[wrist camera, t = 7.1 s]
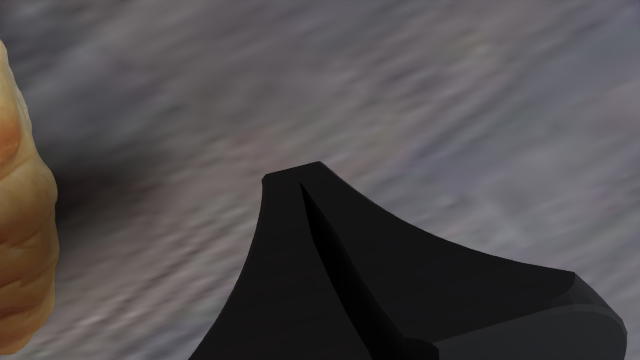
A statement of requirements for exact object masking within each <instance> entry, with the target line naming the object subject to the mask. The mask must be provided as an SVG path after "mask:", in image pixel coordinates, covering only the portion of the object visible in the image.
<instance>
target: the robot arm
mask: <svg viewBox="0 0 640 360" xmlns="http://www.w3.org/2000/svg"><path fill="white" fill-rule="evenodd" d="M626 348H627V331H626V328H625V326H624V323H623V321H622V319H621V318H620V317H619V316H618V315H617V314H616V313H615V312H614V311H613V310H612V308H611V307H610V306H609V305H608V304H607V303H606V302H605V301H604V300H603V299H602V298H601V297H600V296H599V295H598V294H597V293H596V292H595V291H594V290H593V289H592V288H591V287H590V286H589V285H588V284H587V283H585V282H584V281H583V280H582V279H581V278H580V277H579V276H578V275H577V274H575V273H574V272H571V271H565V270H560V269H554V268H548V267H543V266H537V265H532V264H526V263H521V262H517V261H513V260H509V259H505V258H501V257H497V256H493V255H489V254H486V253H483V252H480V251H476V250H473V249H470V248H467V247H464V246H461V245H459V244H456V243H453V242H450V241H447V240H445V239H442V238H440V237H437V236H435V235H433V234H430V233H428V232H426V231H424V230H422V229H420V228H418V227H415V226H413V225H411V224H409V223H407V222H405V221H403V220H401V219H400V218H398V217H396V216H395V215H393V214H391V213H390V212H388V211H386V210H385V209H383V208H381V207H380V206H378V205H377V204H375V203H374V202H372V201H371V200H370V199H368V198H367V197H365V196H364V195H362V194H361V193H360V192H358V191H357V190H355V189H354V188H353V187H351V186H350V185H349V184H348V183H346V182H345V181H344V180H342V179H341V178H340V177H339V176H338V175H336V174H335V173H334V172H333V171H332V170H330V169H329V168H328V167H327V166H326V165H325V164H323V163H322V162H320V161H317V162H313V163H309V164H305V165H301V166H297V167H293V168H289V169H285V170H281V171H277V172H273V173H269V174H266V175H265V176H264V177H263V179H262V201H261V208H260V213H259V218H258V222H257V227H256V231H255V234H254V237H253V240H252V244H251V247H250V250H249V253H248V256H247V259H246V261H245V264H244V266H243V269H242V271H241V274H240V276H239V278H238V280H237V282H236V285H235V287H234V289H233V291H232V292H231V294H230V296H229V298H228V300H227V302H226V304H225V306H224V307H223V309H222V311H221V313H220V314H219V316H218V318H217V319H216V321H215V322H214V324H213V325H212V327H211V328H210V330H209V331H208V333H207V334H206V335H205V337H204V338H203V340H202V341H201V343H200V344H199V346H198V347H197V348H196V350H195V351H194V353H193V354H192V355H191V357H190V358H189V359H188V360H624V357H625V353H626Z"/></svg>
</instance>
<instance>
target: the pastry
mask: <svg viewBox="0 0 640 360" xmlns="http://www.w3.org/2000/svg"><path fill="white" fill-rule="evenodd" d="M57 196H58V191H57V185H56V181H55V178H54V176H53V174H52V172H51V170H50V169H49V168H48V167H47V165H46V164H45V163H44V162H43V160H42V159H41V157H40V156H39V154H38V152H37V149H36V147H35V144H34V140H33V136H32V126H31V121H30V118H29V115H28V109H27V106H26V103H25V101H24V99H23V96H22V93H21V92H20V90H19V89H18V87H17V85H16V83H15V80H14V76H13V72H12V71H11V69H10V67H9V65H8V56H7V50H6V48H5V46H4V44H3V42H2V41H1V40H0V355H10V354H14V353H16V352H17V351H18V350H20V349H22V348H23V347H24V346H25V345H26V344H27V343H28V342H29V340H30V339H31V337H32V335H33V334H34V333H35V332H36V331H37V330H38V329H39V328H40V327H41V326H42V325H43V324H44V323H45V321H46V320H47V318H48V316H49V315H50V314H51V312H52V310H53V308H54V304H55V292H54V278H55V268H56V264H57V261H58V258H59V252H60V246H59V242H58V234H57V229H56V223H55V203H56V201H57Z"/></svg>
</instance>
